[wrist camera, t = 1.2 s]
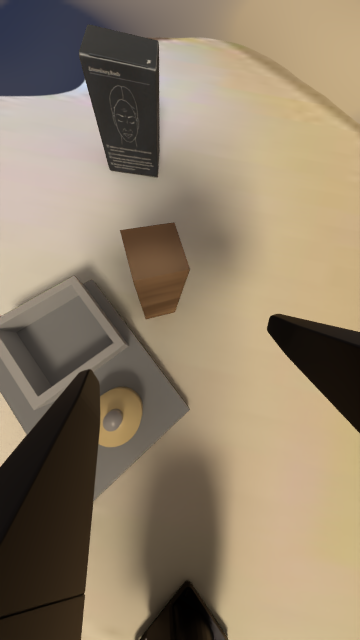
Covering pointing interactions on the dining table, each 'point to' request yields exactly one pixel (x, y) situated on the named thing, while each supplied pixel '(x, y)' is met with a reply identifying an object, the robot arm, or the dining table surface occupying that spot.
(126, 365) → the housing
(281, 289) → the dining table surface
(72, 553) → the robot arm
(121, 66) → the box
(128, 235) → the wooden block
